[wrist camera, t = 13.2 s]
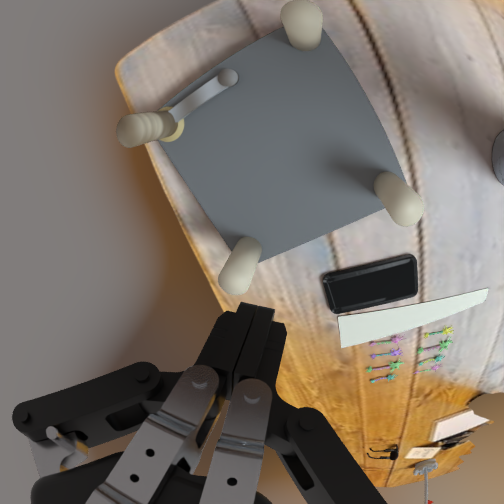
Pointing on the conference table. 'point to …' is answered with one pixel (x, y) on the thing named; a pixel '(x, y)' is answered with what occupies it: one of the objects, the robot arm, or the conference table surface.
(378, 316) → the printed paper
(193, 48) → the conference table surface
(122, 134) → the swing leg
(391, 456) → the sunglasses
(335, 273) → the phone
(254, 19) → the conference table surface
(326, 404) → the conference table surface
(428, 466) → the flag stand
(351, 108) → the grey square base plate
